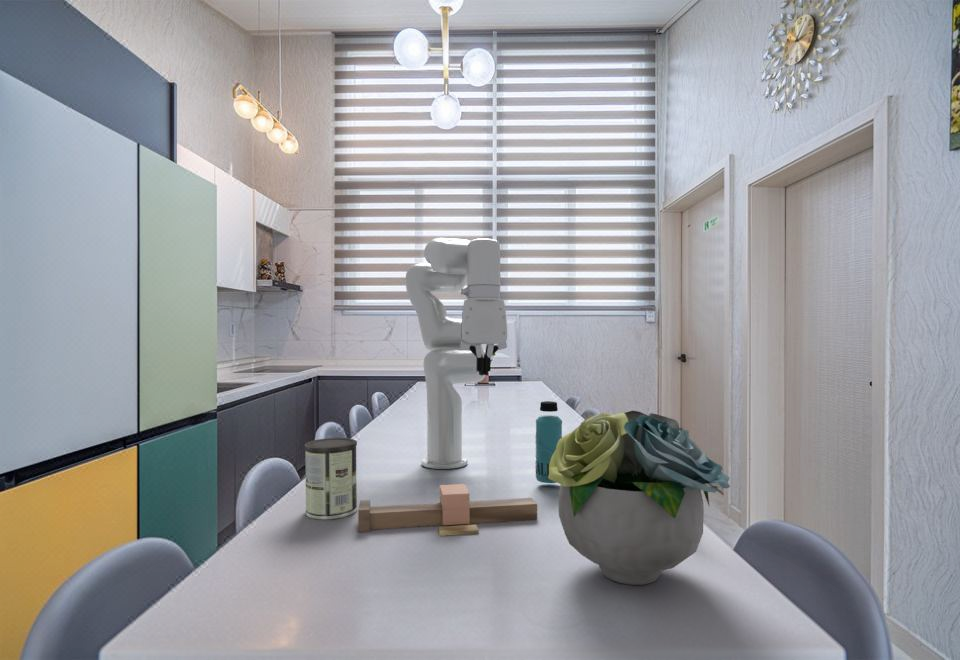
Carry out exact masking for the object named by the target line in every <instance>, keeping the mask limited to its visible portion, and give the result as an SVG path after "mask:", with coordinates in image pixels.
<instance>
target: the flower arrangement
mask: <svg viewBox="0 0 960 660" xmlns="http://www.w3.org/2000/svg"><path fill="white" fill-rule="evenodd" d="M689 434H690V431H688V429H684V428H683V427H680V425H679V422H678V421H677V420H676V419H674V418H671V417H668V416H664V415H661V414H657V413H652V412H651V413H649V414H645V413H644V412H641V411H638V410H630V411H626V412H622V413H621V412H620V413H618V414H612V413H606V412H605V413H599V414H596V415H595V414H593V413H590V414H588V415H587V416H586V418H585V419H584V420H583V421H581V423H580V425H578V426H577V427H576V428H575V429H573V430H572V431H571V432H569V433H567V434H566V435H564V436H562V438H561V439H559V441H558V443H557V447H556V450H555V452H554V454H553V455H552V457H551V460H550V463H549V476H548V478H549V479H550V480H552V481H554V482H557V484H559V490H558V495H557V498H558V499H557V501H558V502H557V503H558V518H559V520H560V524H561V526H562V529H563V532H564V535H565V537H566V539H567V542H568V543H569V545H570V546H571V547H573V549H575V550H576V552H578V554H579V555H581V556H582V557H584V558H586V559H587V560H589V561H590V562H592V563H593V564H596V565H598V568H599V570H600V572H601V573H602V575H603V576H605V578H607V579H609V580H611V581H613V582H616V583H620V584H625V585H630V586H635V585H636V586H638V585H639V586H640V585H641V586H644V585H647V584H652V583H653V582H655V581H656V580H658V579H659V578H660V575H661V572H663V571H667V570H671V569H673V568H675V567H677V566H678V565H680V564H681V563H682V562H684V561H685V560H687V559H688V558H689V557H690V556H692V555H694V554H695V553H696V552H697V550H698V547H699V546H700V543H701V540H702V537H703V534H704V512H705V511H704V510H705V509H704V507H705V506H704V500H703V494H702V491H703V493H704V497H705V499H706V501H707V505H708V506H710V500H709V493H713V494H714V493H717V492H718V490H719V489H718V486H717V485H719V486H720V488H722V489H729V488H731V485H730V484H729V483H728V482H729V481H730V479H731V477H729V476H728V475H726V474H725V473H723V472H722V471H723V466H722V465H721V464H719V463H717V462H716V461H714V460H712V459H710V458H709V457H708V456H707V454H706V452H705V451H703V449H701V447H699V445H697V443H696V442H695V441H694V440H693V439H691V437H689V436H690V435H689ZM707 484H717V485H712V486H708V485H707Z"/></svg>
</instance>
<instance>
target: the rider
mask: <svg viewBox="0 0 960 660" xmlns="http://www.w3.org/2000/svg"><path fill="white" fill-rule="evenodd" d="M469 501H470V492H469V490H468V487H467V486H466V484H465V483H460V484H458V483H456V484H439V503H441V505H442V520H443V525H442V526H458V525H471V523H470V512H469Z"/></svg>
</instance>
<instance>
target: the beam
mask: <svg viewBox="0 0 960 660" xmlns="http://www.w3.org/2000/svg"><path fill="white" fill-rule="evenodd" d="M357 512H358V513H357V515H358V518H357V519H358V520H357V521H358V524H357V525H358V529H357V531H358V533H366V532H370V530H383V529H384V530H385V529H400V528H401V529H402V527H403V528H414V527H415V528H417V527H418V526H420V527H431V526H432V527H434V526H433V525H436V526H438V533H439V536H440V537H445V536H446V535H447V536H460V535H462V536H463V535H476V534H479V531H480V530H479V528H478V526H477V524H480V523H484V524H485V523H498V522H499V523H501V522H514V521H534V520H538V503H537V502H536V501H535V499H533V497H524V498H523V497H522V498H520V497H519V498H505V499H485V500H484V499H483V500H469V512H470V524H459V525H443V520H442V505H441V503H440V502H432V503H431V502H429V503H415V504H413V503H412V504H411V503H410V504H395V505H394V504H392V505H375V506H371V499H362V500H359V504H358V508H357ZM428 525H429V526H428Z"/></svg>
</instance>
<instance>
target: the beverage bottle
mask: <svg viewBox="0 0 960 660" xmlns="http://www.w3.org/2000/svg"><path fill="white" fill-rule="evenodd" d="M539 411H540V412H547V413H548V412H552V413H553V412H558V411H559V408H558V402H556V401H550V400H549V401H548V400H545V401H540V407H539ZM562 437H563V420H562V419H561V418H560V417H559V416H558V415H555V414H542V415H539V416H538V417H537V418H536V419H535V439H534V440H535V478H536V481H538V482H540V483H543V484H556V483H557V482H554V481H552V480H550V479H549V478H548V476H549V463H550V460H551V457H552V455H553V454H554V452H555V450H556V447H557V443H558V441H559V439H561V438H562ZM557 484H558V483H557Z"/></svg>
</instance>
